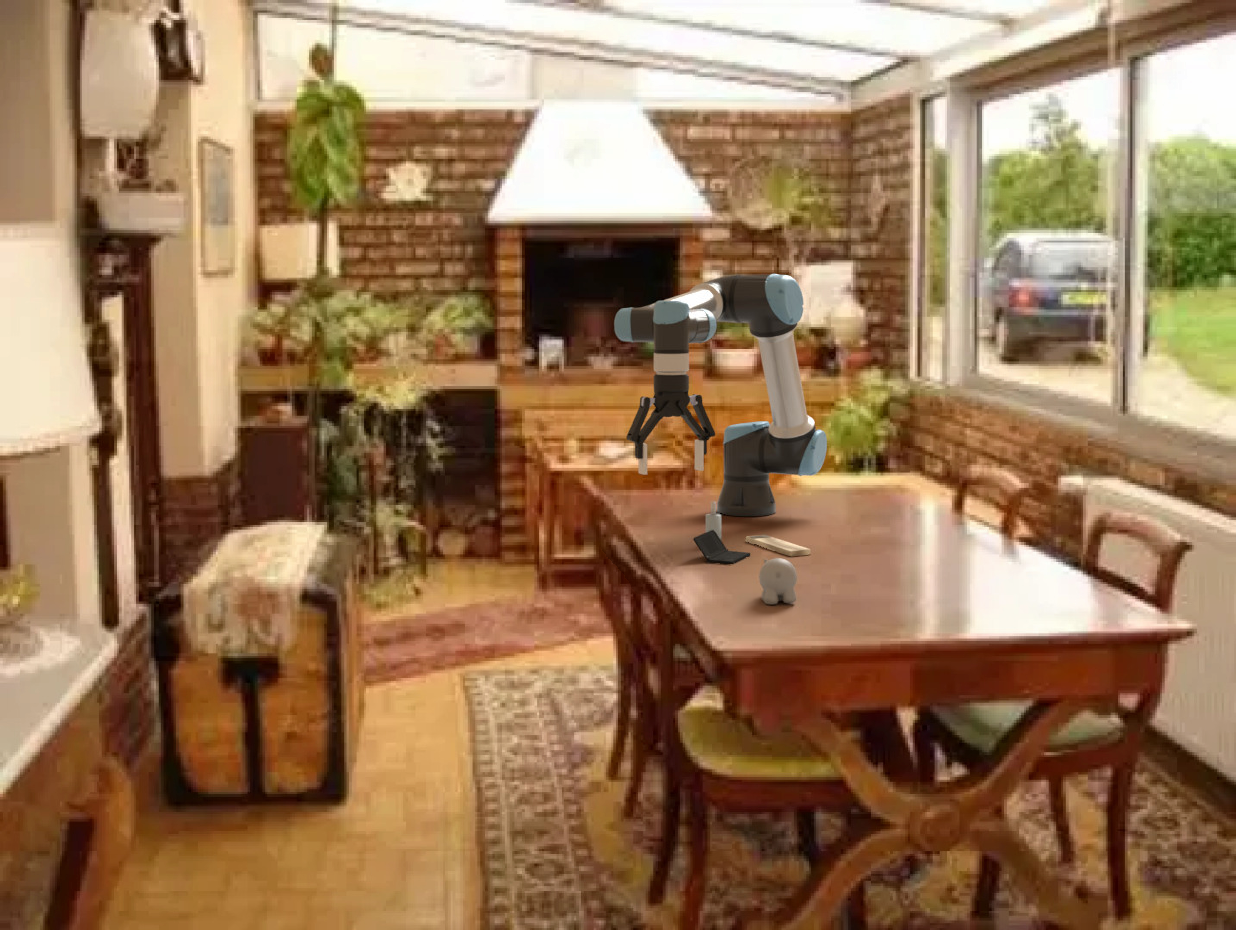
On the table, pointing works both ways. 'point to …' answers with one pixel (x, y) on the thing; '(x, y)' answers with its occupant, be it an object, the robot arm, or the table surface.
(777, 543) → the batten
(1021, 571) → the table surface
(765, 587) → the toy rhinoceros
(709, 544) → the handheld gaming console
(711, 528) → the grey bottle
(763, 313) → the robot arm
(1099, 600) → the table surface
